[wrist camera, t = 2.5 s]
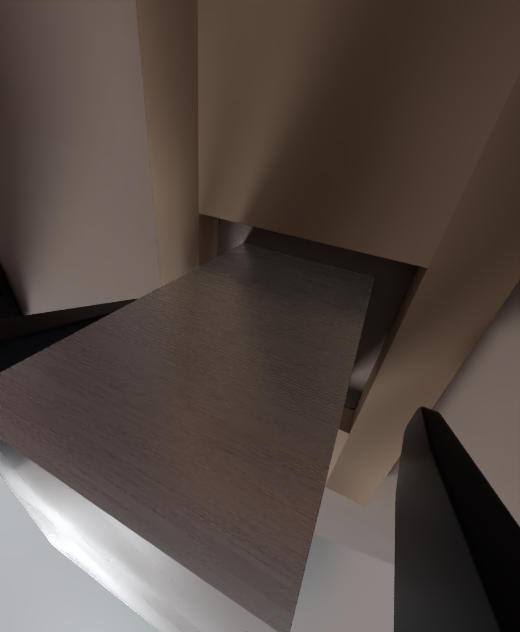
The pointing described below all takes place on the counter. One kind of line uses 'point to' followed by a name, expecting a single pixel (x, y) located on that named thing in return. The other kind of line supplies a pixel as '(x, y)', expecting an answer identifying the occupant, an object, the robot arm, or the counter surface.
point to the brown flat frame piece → (348, 166)
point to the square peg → (192, 437)
